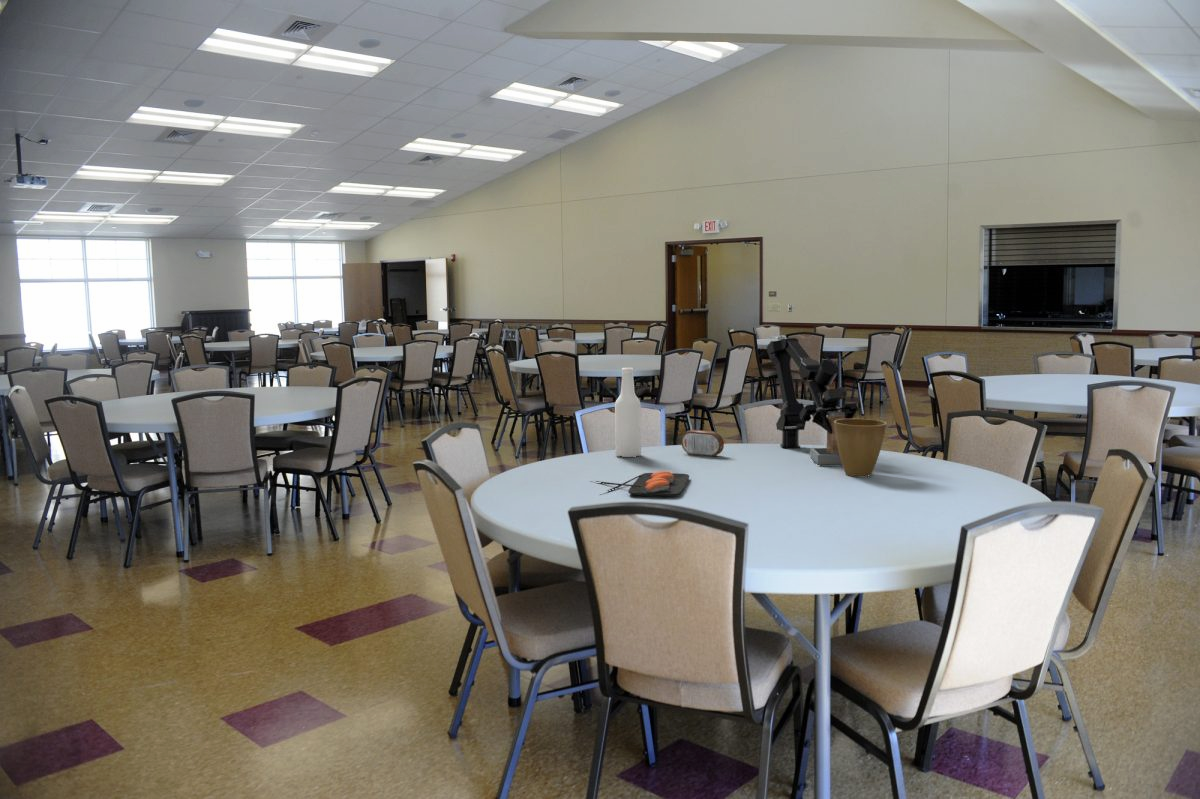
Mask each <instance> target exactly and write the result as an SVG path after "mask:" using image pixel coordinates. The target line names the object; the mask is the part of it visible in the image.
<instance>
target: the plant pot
mask: <svg viewBox="0 0 1200 799" xmlns="http://www.w3.org/2000/svg"><path fill="white" fill-rule="evenodd" d="M834 424H835V433H836V440H837V445H838V450H839V454H840V458H841V461H842V465H843V466H842V468H843V471H844V472H845V473H844V474H845V475H847V476H849V475H852V476H851V477H856V476H867V477H869V476H868V475H870V476H871V475H872V474H873V472H874V469H875V467H876V464H877V461H878V459H879V456H880V453H881V450H882V446H883V442H884V437H885V432H886V428H887V427H886V426H887V422H886V421H883V420H877V419H868V418H867V419H866V418H852V419H838V420H835V421H834Z"/></svg>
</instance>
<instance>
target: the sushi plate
mask: <svg viewBox="0 0 1200 799" xmlns="http://www.w3.org/2000/svg"><path fill="white" fill-rule="evenodd" d="M689 479H690V475H689V474H688V473H679V472H678V473H674V472H673V473H672V472H670V471H668V470H667V471H666V470H660V471H659V470H658V471H656V472H643V473H642V474H639V475H638V476H635V477H633V478H630V479H629V480H627V481H625V482H622V483H617V482H609V481H608V482H605V481H599V480H595V481H596V482H601V483H604V484H603V485H613V486H614V487H612V488H610V489H607V491H609V490H612V489H615V488H617V489H618V488H621V487H622V486H625V487H629V489H628V493H629V494H630V495H636V496H637V495H638V496H642V497H643V496H644V497H672V496H678V495H681V493H682V492H683V491H684V488H685V487H686V485H687V483H688V482H689ZM634 480H635V481H634ZM632 481H634V482H633V484H628V483H630V482H632ZM615 490H616V489H615Z"/></svg>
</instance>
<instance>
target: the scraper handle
mask: <svg viewBox="0 0 1200 799" xmlns="http://www.w3.org/2000/svg"><path fill="white" fill-rule="evenodd" d="M827 419H828V421H829V423H830V426H831V428H832V431H833V432H832V434H830V433H829V432H828V431H826V448H827V452H830V453H833V454H834V453H839V450H838V445H837V440H836V433H835V424H834V421H835V420H838V419H845V413H844V412H840V411H830V412H827Z"/></svg>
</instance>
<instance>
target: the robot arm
mask: <svg viewBox="0 0 1200 799" xmlns="http://www.w3.org/2000/svg"><path fill="white" fill-rule="evenodd" d="M766 352H767V355H768V357H769V360H770V361H771V363H773V365H774V366H775V369H776V374H777V379H778V383H779V388H780V390H779V391H780V394H781V395H780V396H781V399H782V405H781V408H780V412H779V413H780V416H779V418H778V420H777V422H776V425H775V426H776V430H777V431H781V443H780V444H779V446H780V447H781V448H782V449H800V448H799V447H802V446H801V445H800V444H799V437H800V436H799V434H800V433H799V432H800V430H801V431H804V430H805V429H806V428H805V427H806V423H807V422H810V421H811V420H812V423H814V424H816V425H818V426H820V427H821V428H822V429H824V430H825V431H826V432H827V431H828V432H829V433H830V434H832V432H833V431H832V428H831V426H830V423H829V421H828V419H827V412H830V411H840V412H844V413H845V419H854V417H855V416H856V413H857V412H858V410H859V409H860V408H859V405H858V404H857V403H856V402H844V403H843V406H841V407H839V406H838V405H839V404H840V400H843V399H845V398H846V397H847V396H848V393H847V389H846V388H845V386H844V387H843V386H840V387H838V388H829V387H828V386H830V385H831V384H832V383H833V381H834V379H836V376H837V374H838V373H839V367H838V366H837V365H836V364H835V363H833V362H831V361H829V359H822V361H821V363H820V362H819V361H818V360H816V359H813V358H811V357H810V355H809V354H808V353H807V351H806V350H805V348H803V347H802V345H801V343H799V339H798V338H797V337H784V338H781V339H778V340H770V342H769V343H768V344H767V346H766ZM791 360H793V361H794V363H795V364H796V366H797V367H798V374H799V376H800V379H801V380H802V381H803V382H809V384H808V387H807V388H806V392H807V393H811V396H812V398H813V402H812V404H804V403H803V402H799V400H797V393H796V389H795V385H794V379H793V375H792V369H791V365H790V362H791ZM811 416H812V417H811ZM797 447H798V448H797Z"/></svg>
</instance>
